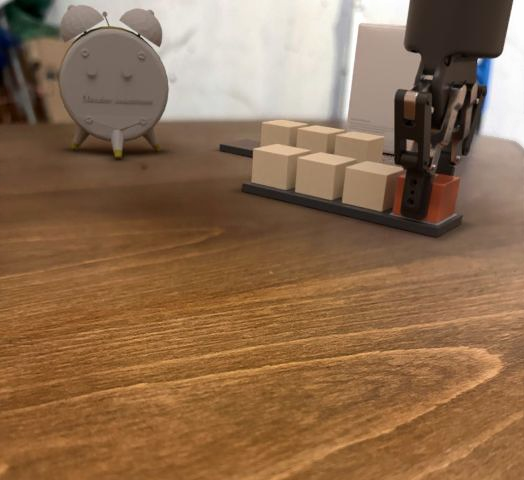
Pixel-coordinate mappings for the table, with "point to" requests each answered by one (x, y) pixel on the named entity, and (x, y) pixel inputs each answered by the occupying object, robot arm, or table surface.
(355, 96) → the white product box
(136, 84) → the alarm clock
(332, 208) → the right rack
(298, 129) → the left rack
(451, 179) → the orange block
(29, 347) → the table surface
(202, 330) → the table surface
